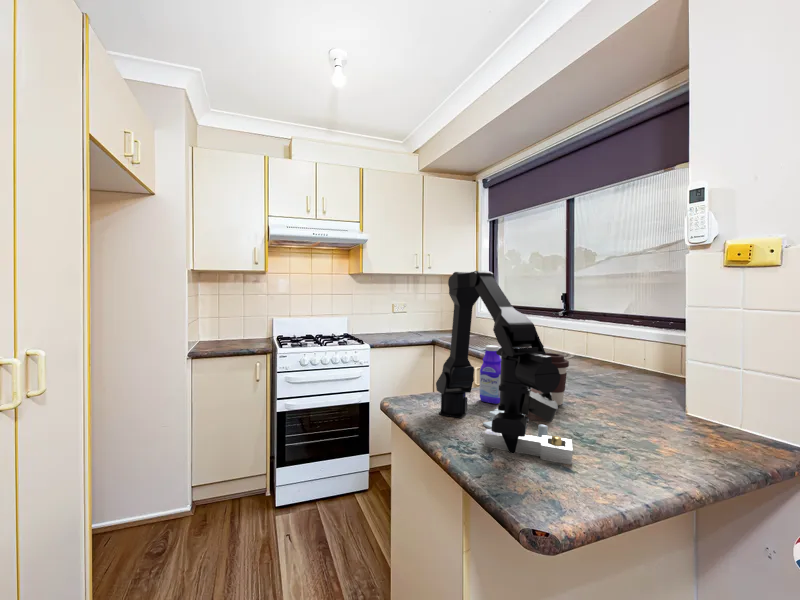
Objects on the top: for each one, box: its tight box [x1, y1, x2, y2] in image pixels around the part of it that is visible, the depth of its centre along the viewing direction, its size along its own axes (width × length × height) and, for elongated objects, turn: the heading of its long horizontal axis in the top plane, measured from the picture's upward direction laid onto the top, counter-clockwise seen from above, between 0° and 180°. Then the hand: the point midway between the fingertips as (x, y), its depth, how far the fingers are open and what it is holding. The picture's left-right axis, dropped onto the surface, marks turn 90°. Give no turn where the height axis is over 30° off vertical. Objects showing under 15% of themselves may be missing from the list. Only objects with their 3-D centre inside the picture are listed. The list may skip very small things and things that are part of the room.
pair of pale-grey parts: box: [482, 408, 548, 437], centre depth 95 cm, size 16×10×5 cm, turn 68°
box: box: [525, 388, 546, 422], centre depth 106 cm, size 6×6×7 cm
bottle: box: [479, 344, 501, 405], centre depth 119 cm, size 7×6×17 cm
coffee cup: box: [544, 352, 570, 406], centre depth 119 cm, size 10×10×15 cm
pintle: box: [551, 435, 563, 446], centre depth 82 cm, size 2×2×4 cm
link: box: [483, 428, 573, 466], centre depth 84 cm, size 18×6×3 cm, turn 68°
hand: (512, 452), depth 81 cm, fingers closed
